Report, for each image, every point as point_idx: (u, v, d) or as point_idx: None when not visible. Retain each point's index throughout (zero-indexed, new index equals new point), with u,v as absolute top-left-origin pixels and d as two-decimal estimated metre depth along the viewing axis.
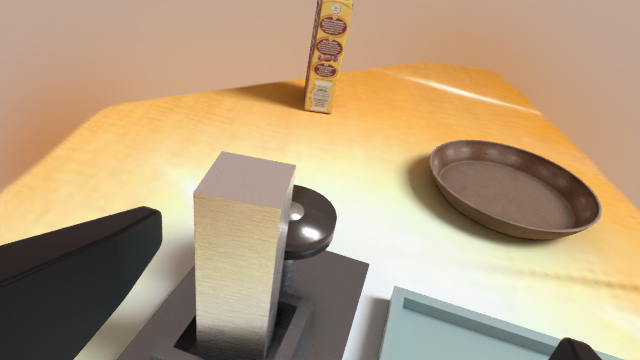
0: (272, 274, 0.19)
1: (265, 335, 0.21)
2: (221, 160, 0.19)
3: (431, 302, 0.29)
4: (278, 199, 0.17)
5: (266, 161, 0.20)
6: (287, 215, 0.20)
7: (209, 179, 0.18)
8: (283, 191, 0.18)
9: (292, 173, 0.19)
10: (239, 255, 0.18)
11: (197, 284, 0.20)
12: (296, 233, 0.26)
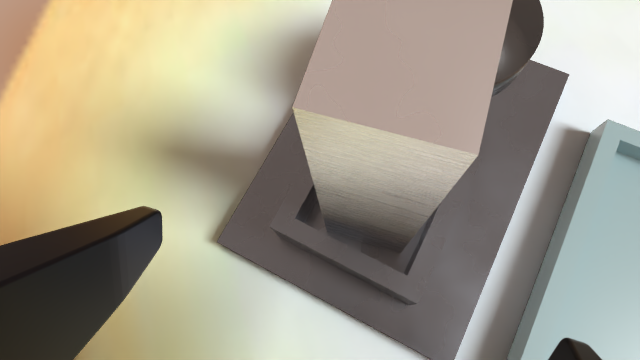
0: (436, 205, 0.11)
1: (413, 234, 0.15)
2: None
3: None
4: (471, 123, 0.08)
5: None
6: None
7: (322, 62, 0.08)
8: (484, 95, 0.08)
9: (504, 28, 0.08)
10: (382, 181, 0.11)
11: (317, 187, 0.13)
12: None
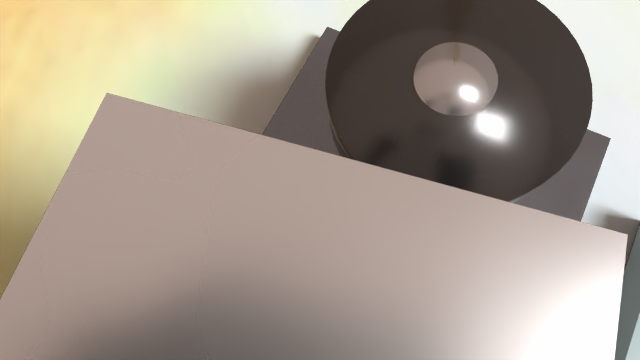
0: None
1: None
2: (85, 203, 0.03)
3: None
4: None
5: (393, 195, 0.03)
6: None
7: None
8: None
9: (604, 359, 0.02)
10: None
11: None
12: (472, 166, 0.10)
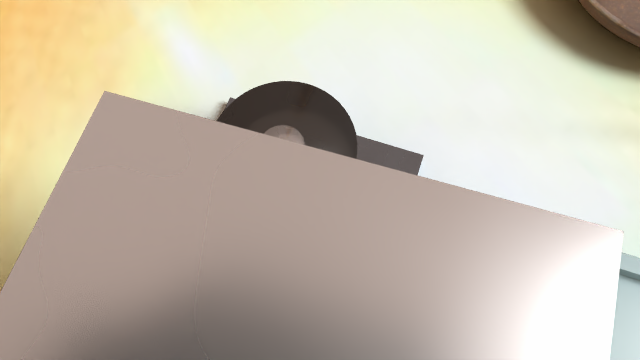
0: None
1: None
2: (82, 201, 0.03)
3: None
4: None
5: (389, 192, 0.03)
6: None
7: None
8: None
9: (599, 355, 0.02)
10: None
11: None
12: None
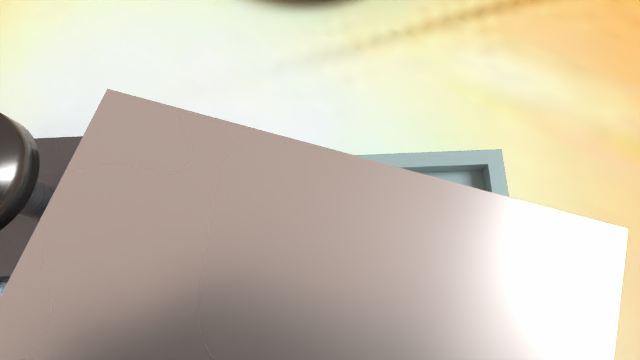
0: None
1: None
2: (86, 199, 0.03)
3: None
4: None
5: (393, 190, 0.03)
6: None
7: None
8: None
9: (603, 353, 0.02)
10: None
11: None
12: None
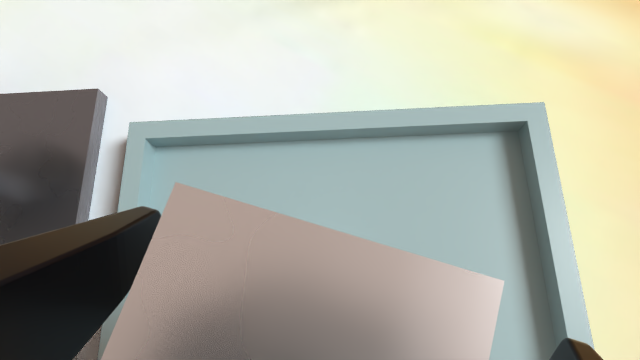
0: None
1: None
2: (166, 258, 0.04)
3: (189, 129, 0.18)
4: None
5: (361, 254, 0.04)
6: None
7: None
8: None
9: (483, 357, 0.04)
10: None
11: None
12: None
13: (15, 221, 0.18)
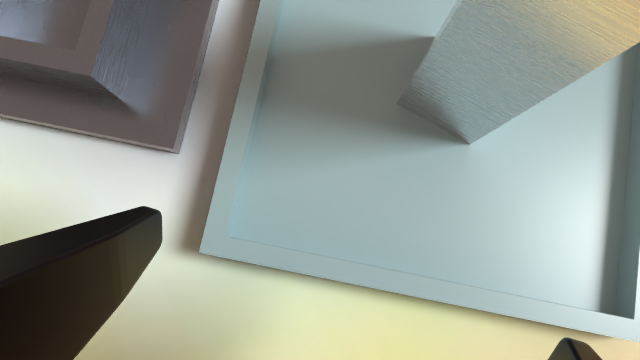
0: (626, 47, 0.09)
1: (523, 110, 0.13)
2: None
3: None
4: None
5: None
6: None
7: None
8: None
9: None
10: None
11: (459, 11, 0.11)
12: None
13: None
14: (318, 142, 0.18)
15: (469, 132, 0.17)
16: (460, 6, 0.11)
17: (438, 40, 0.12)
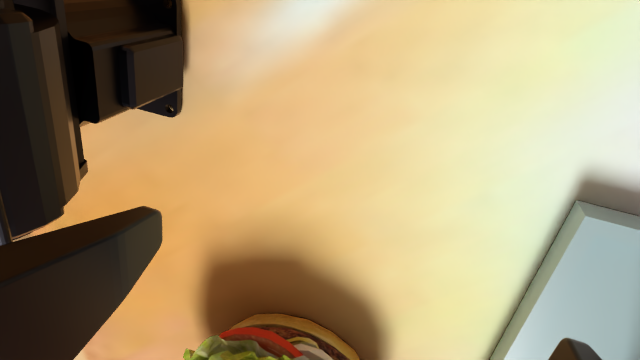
0: None
1: None
2: None
3: None
4: None
5: None
6: None
7: None
8: None
9: None
10: None
11: None
12: None
13: None
14: None
15: None
16: None
17: None
